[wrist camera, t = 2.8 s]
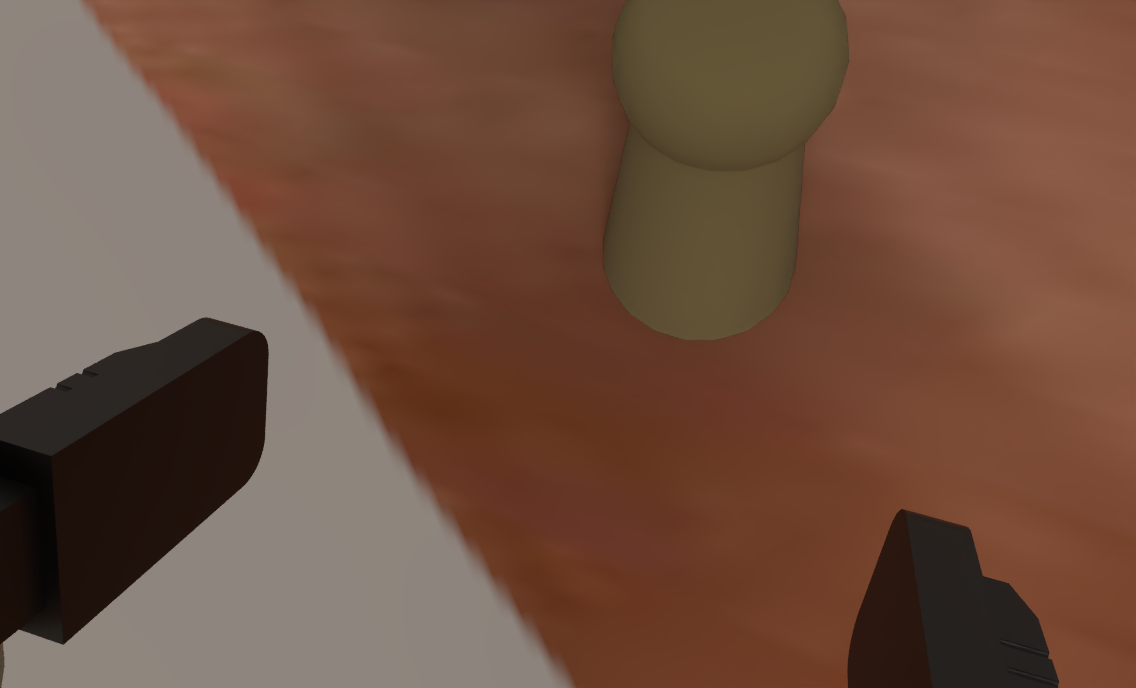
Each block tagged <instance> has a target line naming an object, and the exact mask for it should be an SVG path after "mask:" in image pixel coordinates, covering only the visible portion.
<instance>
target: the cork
mask: <svg viewBox="0 0 1136 688" xmlns="http://www.w3.org/2000/svg"><path fill="white" fill-rule="evenodd" d="M848 63H849V49H848V36H847V26H846V16H845V14H844V12H843V10H842V8H841V6H840V4H839V2H838V0H626V2H625V5H624V7H623V9H622V12H621V14H620V16H619V19H618V22H617V25H616V28H615V31H614V33H613V62H612V65H613V82H614V85H615V87H616V90H617V93H618V95H619V98H620V100H621V103H622V106H623V108H624V111H625V113H626V115H627V118H628V120H629V122H630V124H629V129H628V133H627V138H626V142H625V146H624V151H623V155H622V160H621V164H620V169H619V173H618V178H617V182H616V187H615V191H614V195H613V200H612V204H611V209H610V213H609V218H608V222H607V227H606V231H605V236H604V249H603V267H604V269H605V272H606V275H607V278H608V281H609V284H610V287H611V290H612V292H613V293H614V295H615V296H616V297H617V298H618V300H619V301H620V302H621V303H622V305H623V306H624V307H625V309H626V310H627V311H628V312H629V314H631V315H632V316H634V317H635V318H637V319H638V320H640V321H641V322H643V323H644V324H646V325H647V326H648V327H650V328H651V329H653V330H654V331H657V332H661V333H664V334H667V335H670V336H674V337H677V338H680V339H684V340H718V339H722V338H725V337H729V336H732V335H735V334H739V333H742V332H746V331H747V330H749V329H750V328H752V327H753V326H755V325H756V324H758V323H759V322H761V321H762V320H764V319H765V318H767V317H768V316H770V315H771V314H772V312H773V311H774V310H775V308H776V307H777V306H778V304H779V303H780V302H781V300H782V299H783V298H784V296H785V295H786V294H787V293H788V290H789V286H790V283H791V280H792V276H793V273H794V270H795V266H796V254H797V241H798V228H799V214H800V201H801V188H802V175H803V162H804V149H805V143H806V142H807V141H808V139H809V138H810V137H811V136H812V135H813V133H814V132H815V131H816V130H817V128H818V127H819V126H820V125H821V123H822V122H823V121H824V120H825V118H826V117H827V116H828V115H829V113H830V112H831V111H832V110H833V108H834V106H835V104H836V101H837V98H838V95H839V92H840V89H841V86H842V83H843V80H844V76H845V73H846V70H847V67H848Z"/></svg>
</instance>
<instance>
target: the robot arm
mask: <svg viewBox="0 0 1136 688" xmlns="http://www.w3.org/2000/svg"><path fill="white" fill-rule="evenodd" d="M268 355H269V354H268V344H267V340H266V338H265V336H264V335H263V334H262V333H260V332H259V331H255V330H252V329H248V328H244V327H241V326H237V325H233V324H230V323H226V322H222V321H219V320H215V319H211V318H201V319H199V320H197V321H195V322H193V323H191V324H189V325H188V326H186V327H184V328H182V329H180V330H179V331H177V332H175V333H173V334H171V335H169V336H168V337H166V338H164V339H162V340H160V341H159V342H155V343H152V344H147V345H143V346H140V347H136V348H132V349H128V350H124V351H120V352H116V353H114V354H112V355H110V356H108V357H106V358H104V359H102V360H101V361H99V362H97V363H95V364H93V365H91V366H90V367H87V368H85V369H84V370H83V373H82V374H78V373H76V374H74V375H73V376H71V377H69V378H67V379H65V380H63V381H61V382H59V383H57V387H56V388H55V389H54V388H48V389H46V390H44V391H42V392H40V393H39V394H37V395H35V396H33V397H31V398H29V399H28V400H25V401H24V402H22V403H20V404H18V405H16V406H14V407H13V408H11V409H9V410H7V411H5V412H3V413H1V414H0V688H1V685H2V678H3V672H4V650H3V642H4V641H5V640H6V639H7V638H9V637H10V636H11V635H12V634H13V633H15V632H16V631H17V630H22V631H25V632H28V633H31V634H34V635H37V636H39V637H42V638H45V639H48V640H51V641H54V642H57V643H60V644H63V645H64V644H65V643H66V642H67V641H68V640H69V639H70V638H72V637H73V636H74V635H75V634H76V633H77V632H78V631H79V630H81V629H82V628H83V627H84V626H85V625H86V624H87V623H89V622H90V621H91V620H92V619H93V618H94V617H95V616H97V614H99V613H100V612H101V611H102V610H103V609H104V608H106V607H107V606H108V605H109V604H110V603H111V602H112V601H113V600H115V599H116V598H117V597H118V596H119V595H120V594H122V593H123V592H124V591H125V590H126V589H127V588H128V587H129V586H130V585H132V584H133V583H134V582H135V581H136V580H137V579H138V578H140V577H141V576H142V575H143V574H144V573H145V572H146V571H147V570H149V569H150V568H151V567H152V566H153V565H154V564H155V563H157V562H158V561H159V560H160V559H161V558H162V557H164V556H165V555H166V554H167V553H168V552H169V551H170V550H171V549H173V548H174V547H175V546H176V545H177V544H178V543H179V542H180V541H182V540H183V539H184V538H185V537H186V536H187V535H188V534H190V533H191V532H192V531H193V530H194V529H195V528H196V527H198V526H199V525H200V524H201V523H202V522H203V521H204V520H205V519H207V518H208V517H209V516H210V515H211V514H212V513H213V512H215V511H216V510H217V509H218V508H219V507H220V506H221V505H222V504H224V503H225V502H226V501H227V500H228V499H229V498H231V497H232V496H233V495H234V494H235V493H236V492H237V491H238V490H240V489H241V488H242V487H243V486H244V485H245V484H246V483H247V482H248V480H249V479H250V478H251V476H252V475H253V473H254V471H255V470H256V468H257V465H258V463H259V461H260V458H261V455H262V451H263V447H264V442H265V423H266V402H267V378H268ZM1048 656H1049V650H1048V647H1047V644H1046V641H1045V638H1044V635H1043V632H1042V629H1041V626H1040V623H1039V620H1038V618H1037V617H1036V615H1035V614H1034V613H1033V612H1032V611H1031V609H1030V608H1029V607H1028V606H1027V605H1026V603H1025V602H1024V601H1023V600H1022V599H1021V598H1020V596H1019V595H1018V594H1017V593H1016V592H1015V590H1014V589H1013V588H1012V587H1011V586H1010V584H1009V583H1005V582H1002V581H998V580H995V579H991V578H988V577H984V576H983V575H982V571H981V568H980V564H979V560H978V556H977V553H976V549H975V545H974V541H973V537H972V534H971V531H970V529H969V528H968V527H966V526H962V525H959V524H955V523H951V522H948V521H944V520H940V519H937V518H933V517H929V516H926V515H922V514H918V513H915V512H911V511H907V510H904V509H901V510H900V511H899V512H898V513H897V514H896V516H895V518H894V520H893V522H892V524H891V526H890V529H889V532H888V534H887V537H886V540H885V543H884V545H883V548H882V551H881V553H880V556H879V559H878V561H877V564H876V567H875V570H874V572H873V575H872V578H871V580H870V583H869V586H868V589H867V591H866V594H865V597H864V599H863V602H862V605H861V608H860V610H859V613H858V616H857V619H856V622H855V626H854V630H853V634H852V638H851V643H850V649H849V657H848V688H1058V683H1059V680H1058V677H1057V674H1056V671H1055V668H1054V665H1053V662H1052V660H1051V659H1048Z"/></svg>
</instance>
